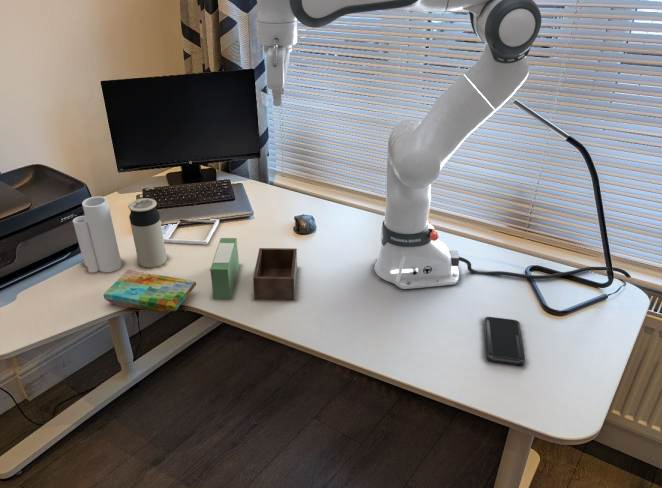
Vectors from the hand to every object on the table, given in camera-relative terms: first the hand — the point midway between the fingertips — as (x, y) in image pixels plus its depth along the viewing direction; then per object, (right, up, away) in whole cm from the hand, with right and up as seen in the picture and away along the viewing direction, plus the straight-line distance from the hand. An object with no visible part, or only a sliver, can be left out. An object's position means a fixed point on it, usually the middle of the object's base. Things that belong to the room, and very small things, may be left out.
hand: (278, 99), depth 129 cm
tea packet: (-14, -39, +18) cm, 45 cm away
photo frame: (-30, -26, +44) cm, 60 cm away
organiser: (-1, -43, +19) cm, 47 cm away
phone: (+51, -56, -3) cm, 76 cm away
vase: (-51, -38, +29) cm, 70 cm away
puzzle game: (-33, -47, +14) cm, 59 cm away
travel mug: (-37, -36, +30) cm, 60 cm away
